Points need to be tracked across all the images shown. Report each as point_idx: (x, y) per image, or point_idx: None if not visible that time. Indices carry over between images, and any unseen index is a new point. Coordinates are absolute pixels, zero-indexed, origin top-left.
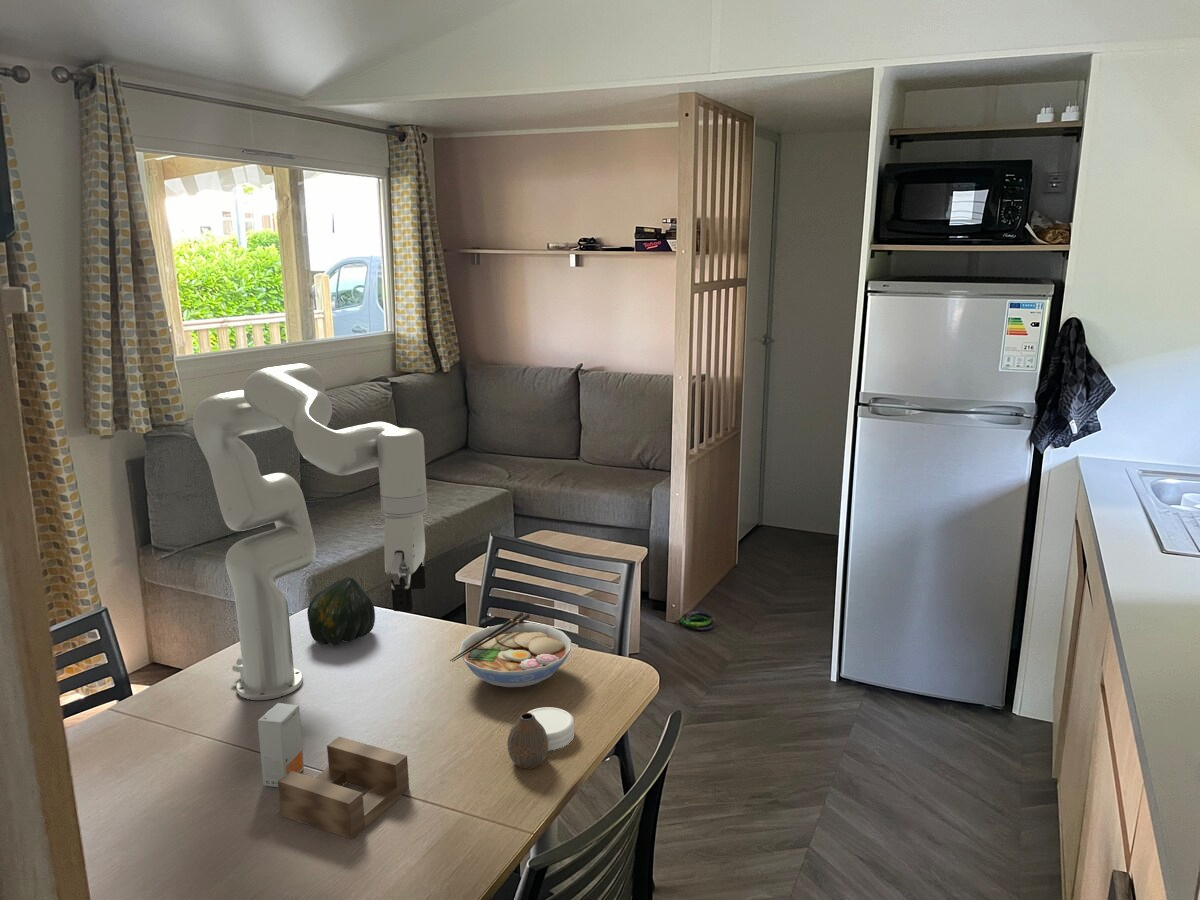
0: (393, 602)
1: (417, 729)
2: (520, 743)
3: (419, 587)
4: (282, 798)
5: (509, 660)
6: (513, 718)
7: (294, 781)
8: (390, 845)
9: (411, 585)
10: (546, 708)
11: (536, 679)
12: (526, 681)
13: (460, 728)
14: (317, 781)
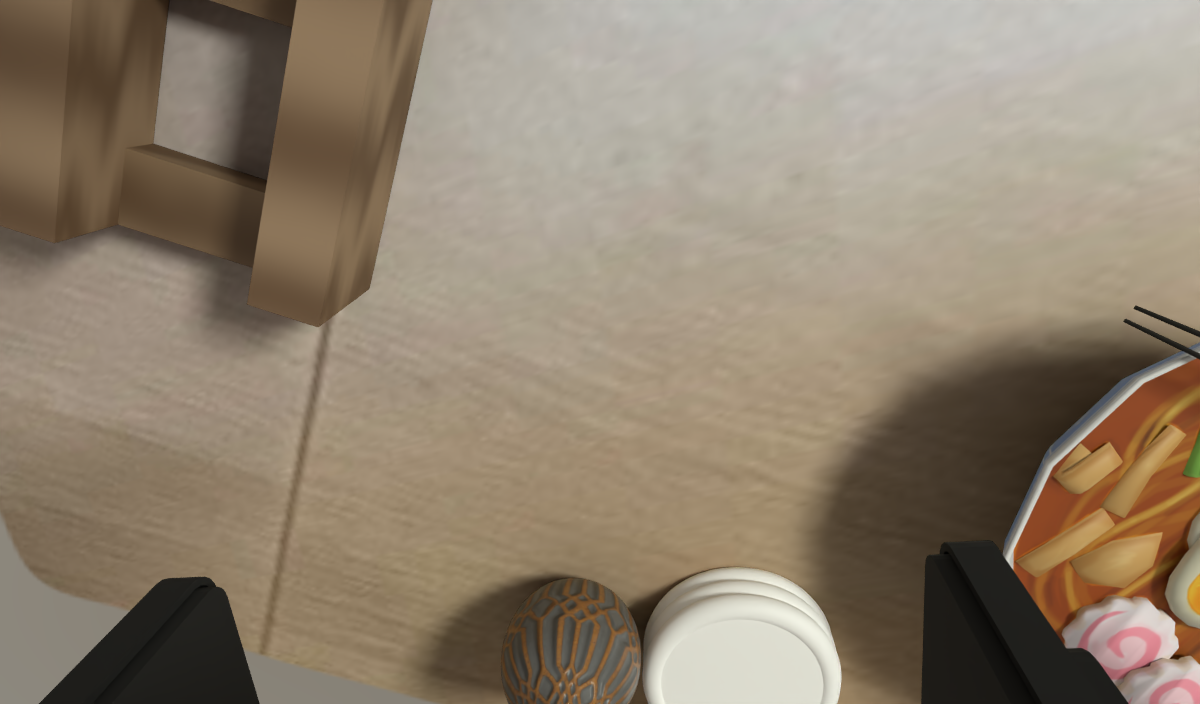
0: (105, 653)
1: (756, 192)
2: (503, 670)
3: (926, 701)
4: None
5: (1187, 544)
6: (853, 528)
7: None
8: (99, 322)
9: (942, 626)
10: (826, 679)
11: None
12: None
13: (773, 359)
14: (55, 26)
